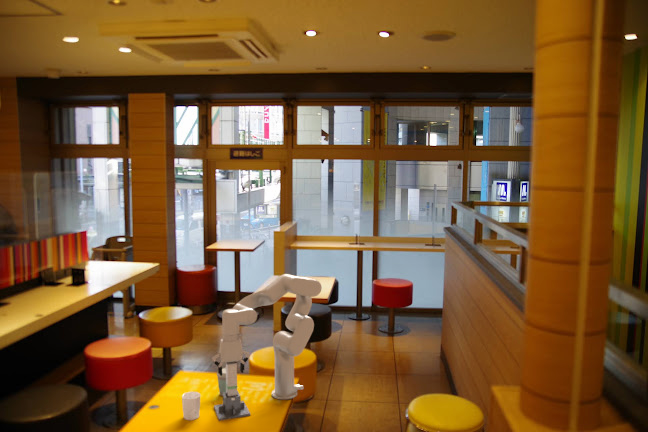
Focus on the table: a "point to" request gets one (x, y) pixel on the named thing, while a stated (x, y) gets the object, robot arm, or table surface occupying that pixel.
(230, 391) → the post
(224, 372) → the coffee cup
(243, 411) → the stand base
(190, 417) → the white cup
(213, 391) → the table surface
